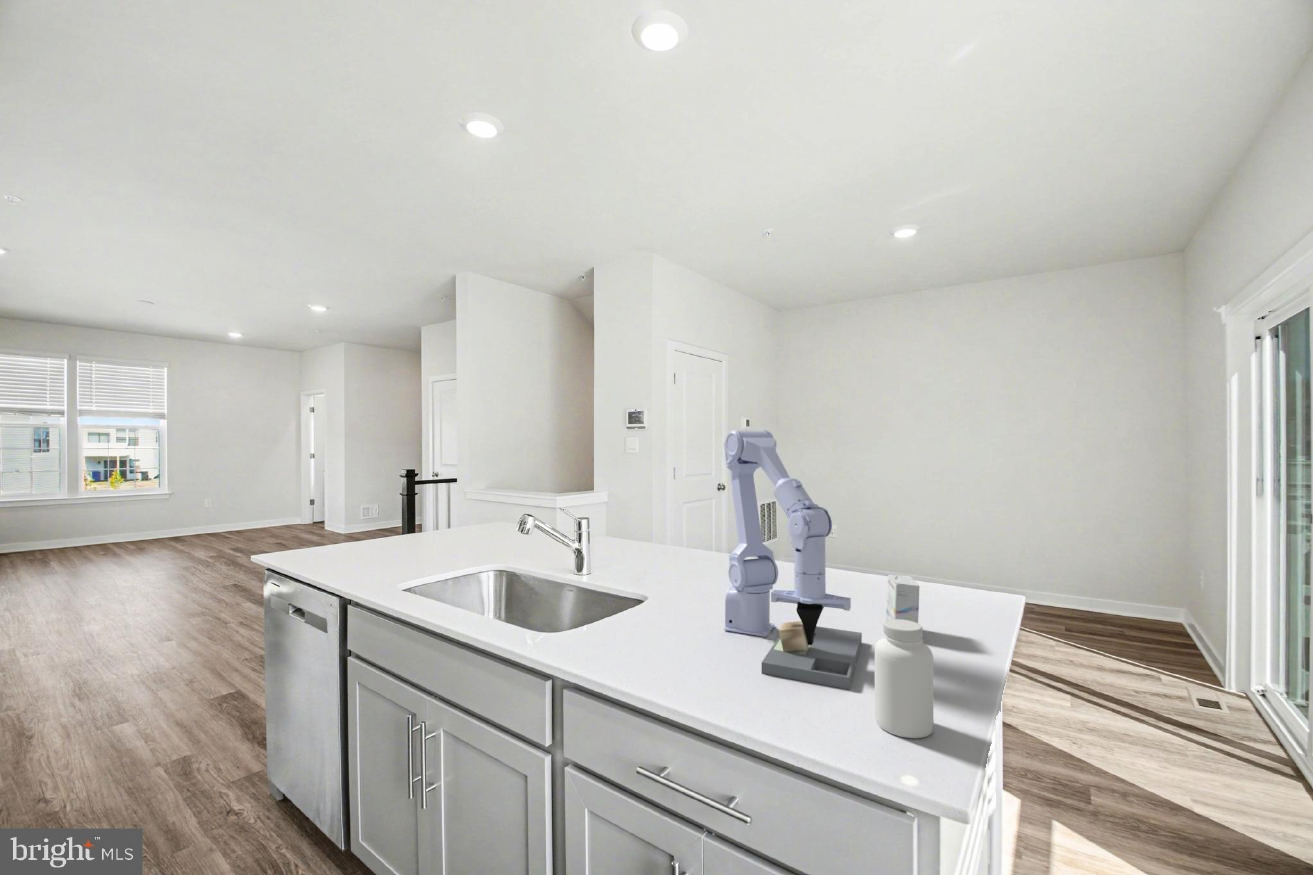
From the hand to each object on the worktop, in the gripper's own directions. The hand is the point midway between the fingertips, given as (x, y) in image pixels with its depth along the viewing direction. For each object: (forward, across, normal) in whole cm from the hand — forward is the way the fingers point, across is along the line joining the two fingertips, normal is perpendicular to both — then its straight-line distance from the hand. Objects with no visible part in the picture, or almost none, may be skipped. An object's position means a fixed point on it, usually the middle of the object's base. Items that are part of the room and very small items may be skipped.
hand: (810, 643), depth 107 cm
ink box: (+4, +16, +24) cm, 29 cm away
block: (+1, -2, 0) cm, 3 cm away
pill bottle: (+4, +16, -19) cm, 25 cm away
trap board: (+3, 0, +2) cm, 4 cm away
